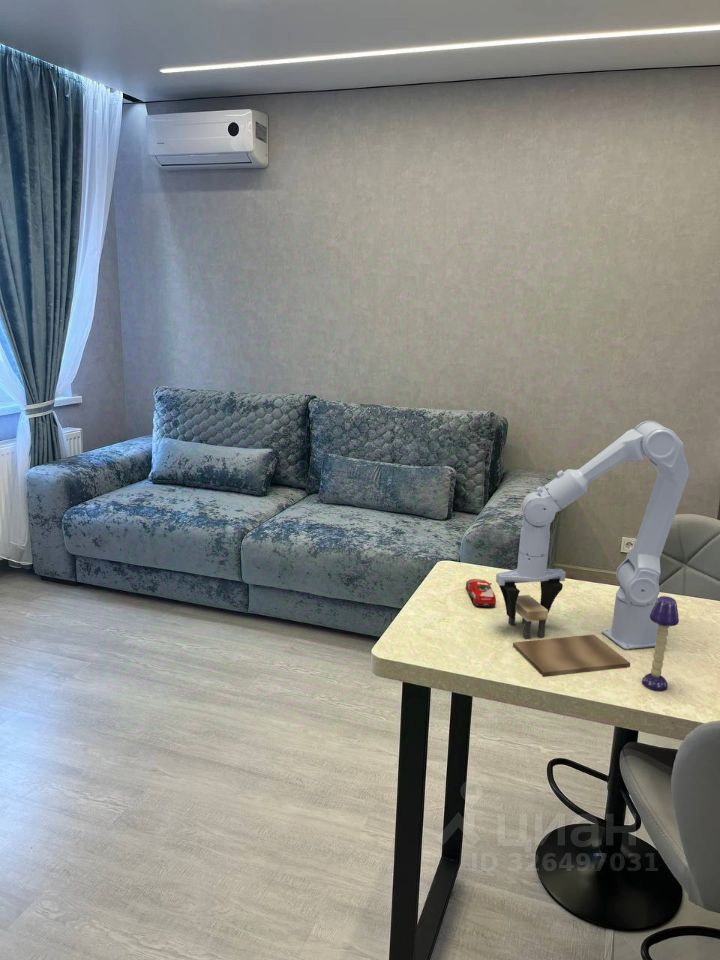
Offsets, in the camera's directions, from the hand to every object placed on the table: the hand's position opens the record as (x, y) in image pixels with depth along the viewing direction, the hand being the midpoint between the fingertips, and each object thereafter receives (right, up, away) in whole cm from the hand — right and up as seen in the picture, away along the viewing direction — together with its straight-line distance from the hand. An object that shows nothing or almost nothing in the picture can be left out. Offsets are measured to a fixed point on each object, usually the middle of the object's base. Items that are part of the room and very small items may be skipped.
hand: (527, 614), depth 145 cm
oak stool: (0, -3, +1) cm, 3 cm away
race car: (-7, 0, +17) cm, 19 cm away
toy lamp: (+18, -9, -19) cm, 28 cm away
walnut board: (+6, -6, -10) cm, 13 cm away
